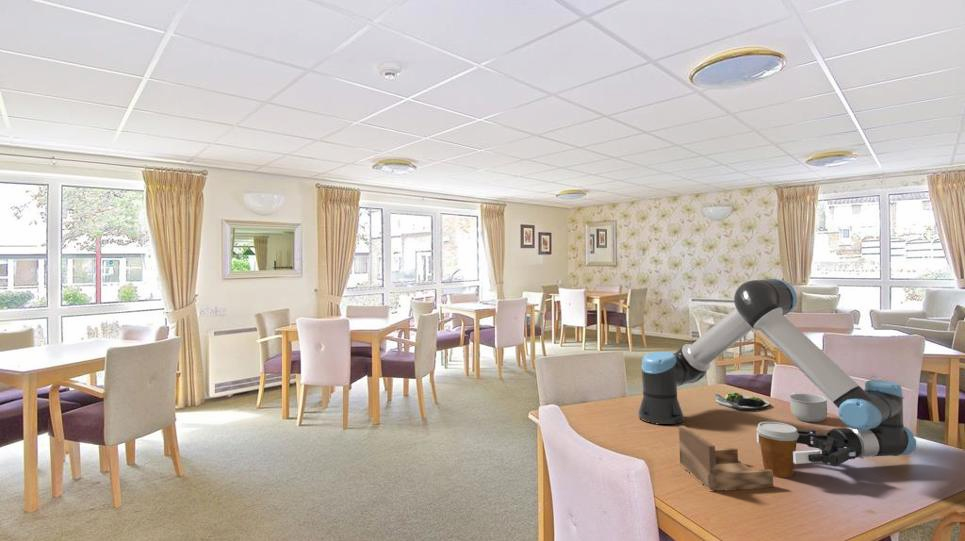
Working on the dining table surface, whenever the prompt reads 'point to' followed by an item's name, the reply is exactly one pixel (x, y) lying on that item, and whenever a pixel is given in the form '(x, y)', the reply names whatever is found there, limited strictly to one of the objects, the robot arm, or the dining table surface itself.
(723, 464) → the cradle
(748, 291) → the robot arm
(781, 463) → the disposable coffee cup
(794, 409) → the teacup
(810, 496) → the dining table surface
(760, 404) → the salad plate
